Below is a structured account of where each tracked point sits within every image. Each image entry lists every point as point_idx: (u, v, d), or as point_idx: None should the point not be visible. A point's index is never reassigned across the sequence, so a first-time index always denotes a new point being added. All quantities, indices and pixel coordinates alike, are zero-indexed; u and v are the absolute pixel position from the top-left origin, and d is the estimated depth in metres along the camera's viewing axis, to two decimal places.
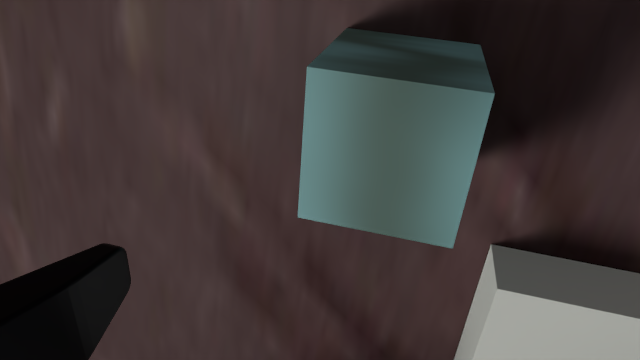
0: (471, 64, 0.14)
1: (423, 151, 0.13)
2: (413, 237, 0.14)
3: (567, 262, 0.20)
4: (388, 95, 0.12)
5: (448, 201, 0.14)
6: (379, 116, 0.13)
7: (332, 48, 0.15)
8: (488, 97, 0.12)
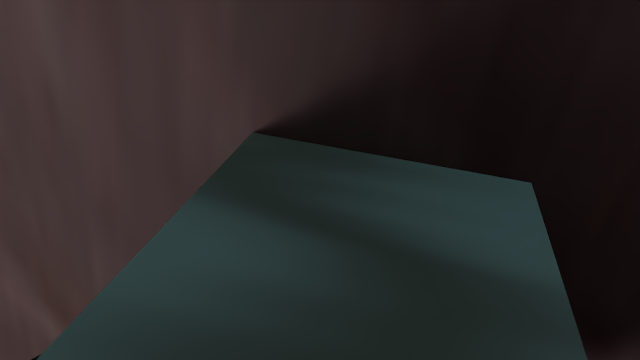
0: (532, 314, 0.05)
1: None
2: None
3: None
4: None
5: None
6: None
7: (160, 247, 0.06)
8: None
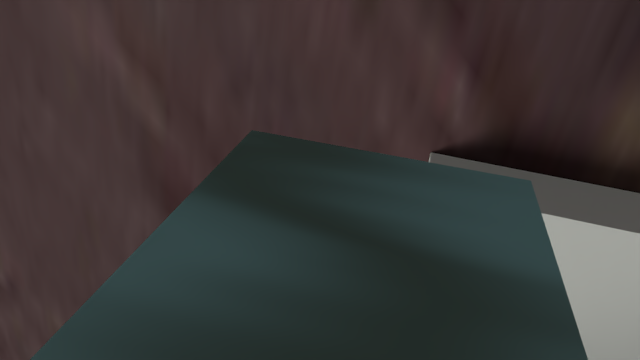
0: (531, 312, 0.05)
1: None
2: None
3: (513, 171, 0.18)
4: None
5: None
6: None
7: (159, 244, 0.06)
8: None
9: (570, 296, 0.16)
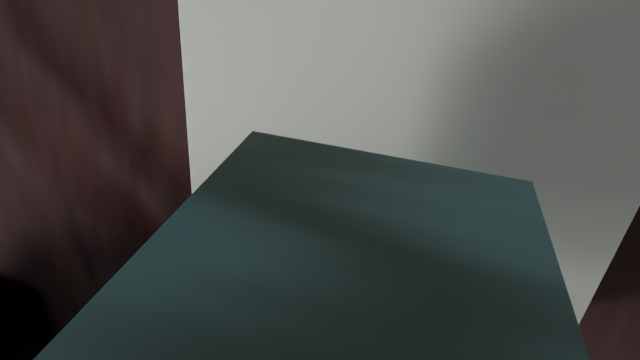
0: (533, 313, 0.05)
1: None
2: None
3: None
4: None
5: None
6: None
7: (160, 245, 0.06)
8: None
9: (401, 75, 0.11)
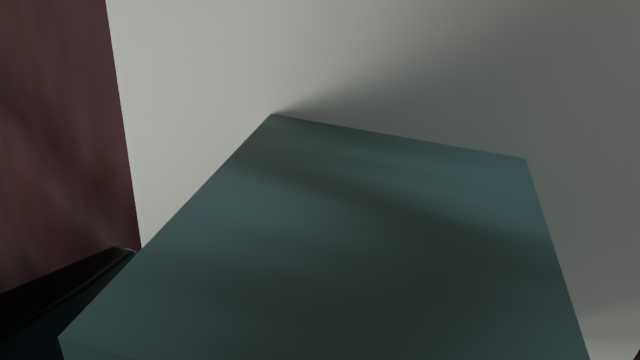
0: (523, 261, 0.06)
1: None
2: None
3: None
4: None
5: None
6: None
7: (198, 205, 0.06)
8: None
9: (385, 116, 0.09)
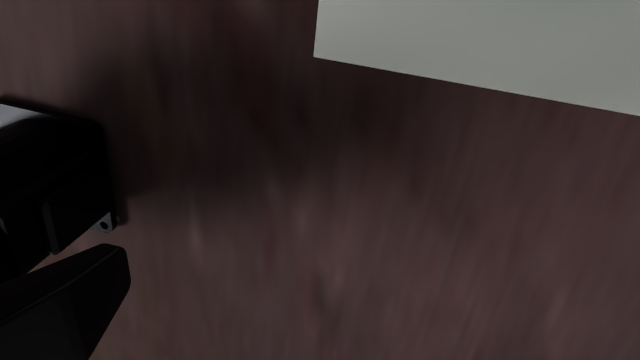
0: None
1: None
2: None
3: None
4: None
5: None
6: None
7: None
8: None
9: None
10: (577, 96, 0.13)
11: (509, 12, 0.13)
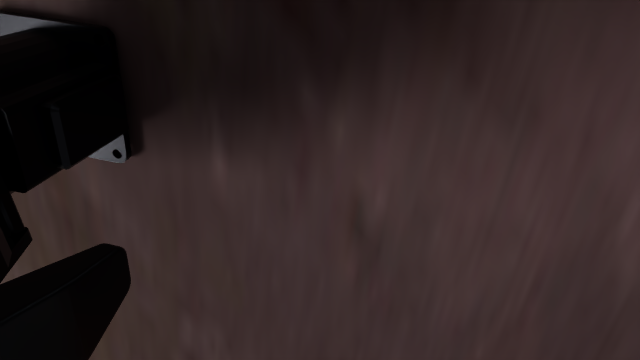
0: None
1: None
2: None
3: None
4: None
5: None
6: None
7: None
8: None
9: None
10: None
11: None
